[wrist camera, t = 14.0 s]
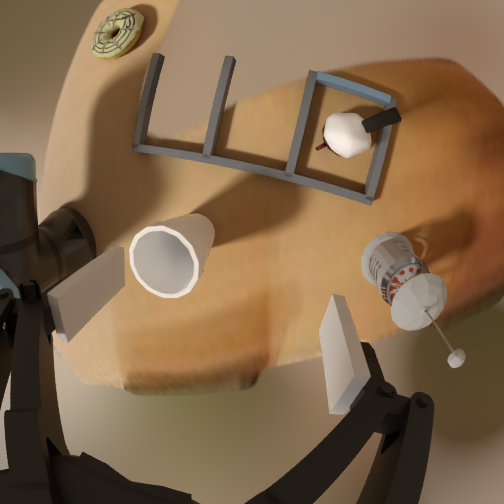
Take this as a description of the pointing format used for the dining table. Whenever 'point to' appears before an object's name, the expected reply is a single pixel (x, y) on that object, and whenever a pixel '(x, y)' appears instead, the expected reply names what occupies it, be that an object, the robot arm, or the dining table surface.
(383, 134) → the organizer
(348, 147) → the cocoa
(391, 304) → the french press
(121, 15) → the decorated donut
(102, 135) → the dining table surface
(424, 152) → the dining table surface
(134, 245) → the foam cup
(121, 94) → the dining table surface
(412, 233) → the dining table surface
